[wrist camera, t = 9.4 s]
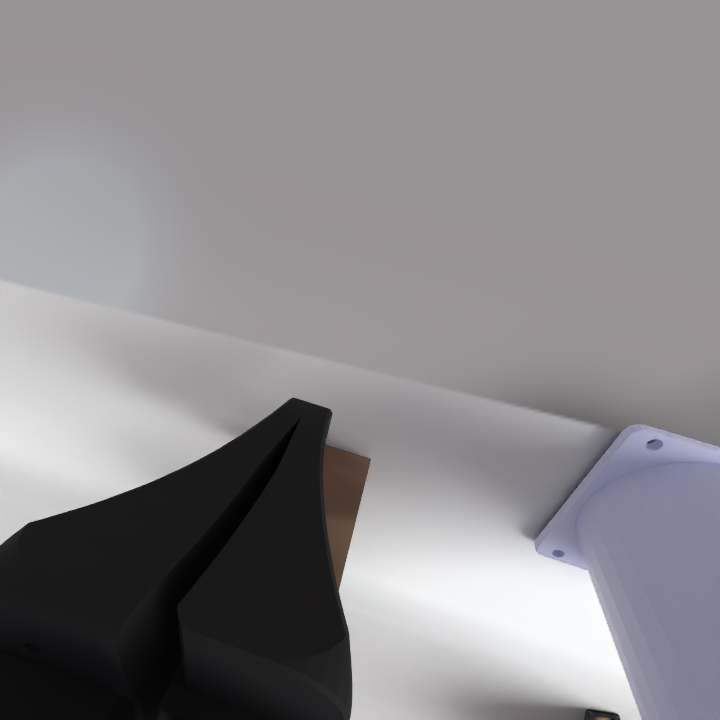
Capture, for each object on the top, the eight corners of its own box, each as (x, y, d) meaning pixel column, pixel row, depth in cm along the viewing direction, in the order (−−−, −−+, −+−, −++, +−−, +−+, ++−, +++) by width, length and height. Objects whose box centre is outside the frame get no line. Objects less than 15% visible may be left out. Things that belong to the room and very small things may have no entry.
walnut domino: (370, 459, 17) (330, 621, 11) (362, 484, 18) (321, 646, 12) (272, 427, 17) (179, 568, 11) (268, 453, 18) (181, 596, 12)
